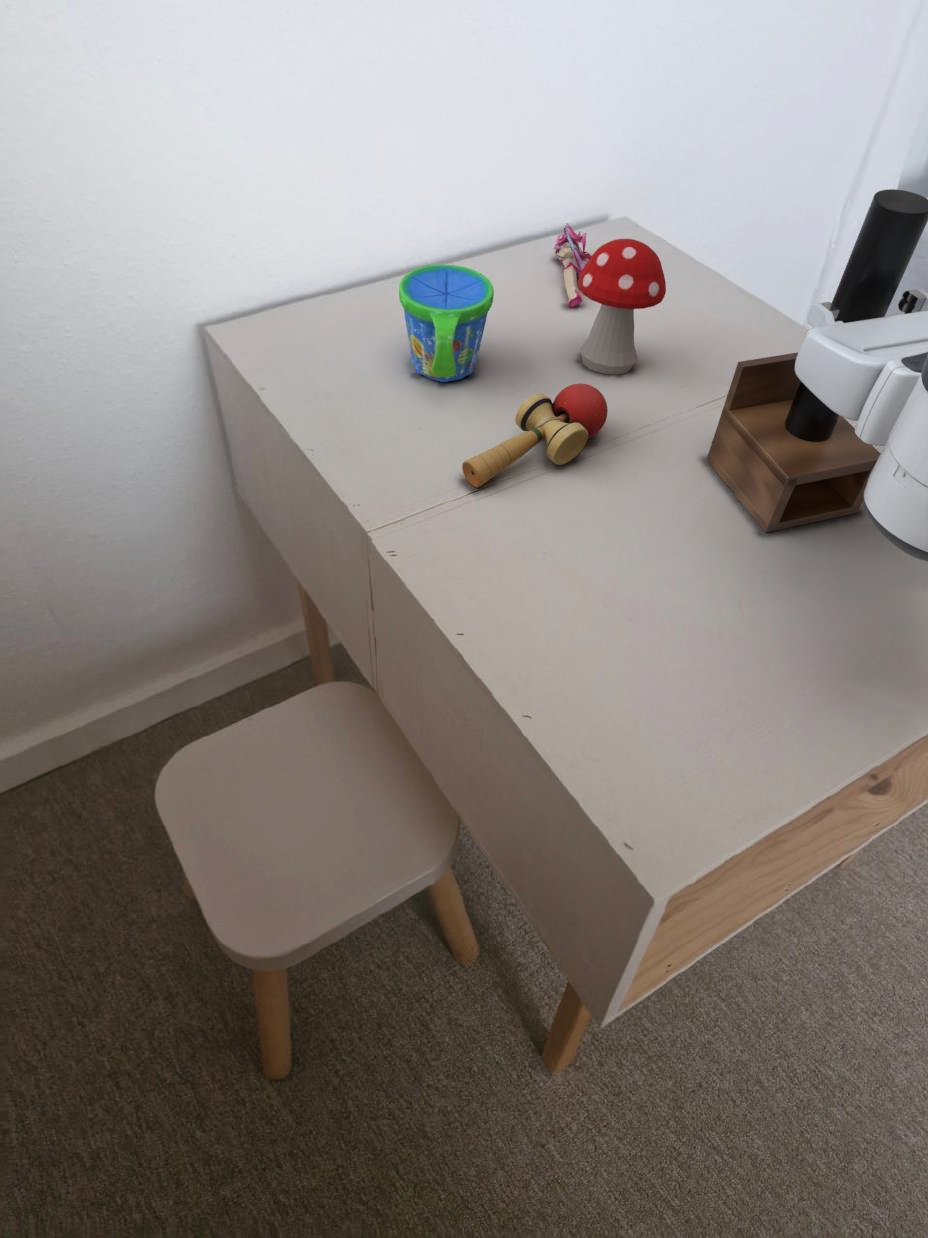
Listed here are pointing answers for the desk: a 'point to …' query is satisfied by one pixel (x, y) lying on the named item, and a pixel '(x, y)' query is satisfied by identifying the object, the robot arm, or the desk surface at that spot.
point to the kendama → (545, 430)
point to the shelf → (785, 452)
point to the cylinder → (866, 288)
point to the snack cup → (445, 318)
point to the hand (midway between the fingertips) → (862, 303)
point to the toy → (571, 261)
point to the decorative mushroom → (619, 301)
